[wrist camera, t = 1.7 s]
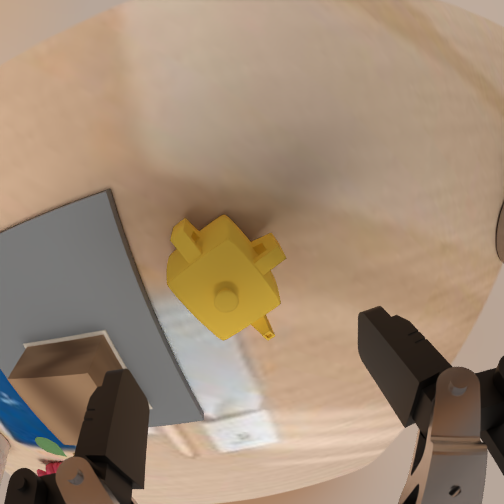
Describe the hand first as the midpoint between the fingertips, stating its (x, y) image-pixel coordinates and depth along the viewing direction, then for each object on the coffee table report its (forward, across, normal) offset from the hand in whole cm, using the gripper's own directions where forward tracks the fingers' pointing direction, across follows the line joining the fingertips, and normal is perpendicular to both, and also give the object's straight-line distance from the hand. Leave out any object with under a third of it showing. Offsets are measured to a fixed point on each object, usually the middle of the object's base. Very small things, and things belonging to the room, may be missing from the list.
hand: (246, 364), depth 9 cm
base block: (+9, +14, +7) cm, 18 cm away
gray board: (+10, +15, +4) cm, 18 cm away
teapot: (+10, 0, 0) cm, 10 cm away
